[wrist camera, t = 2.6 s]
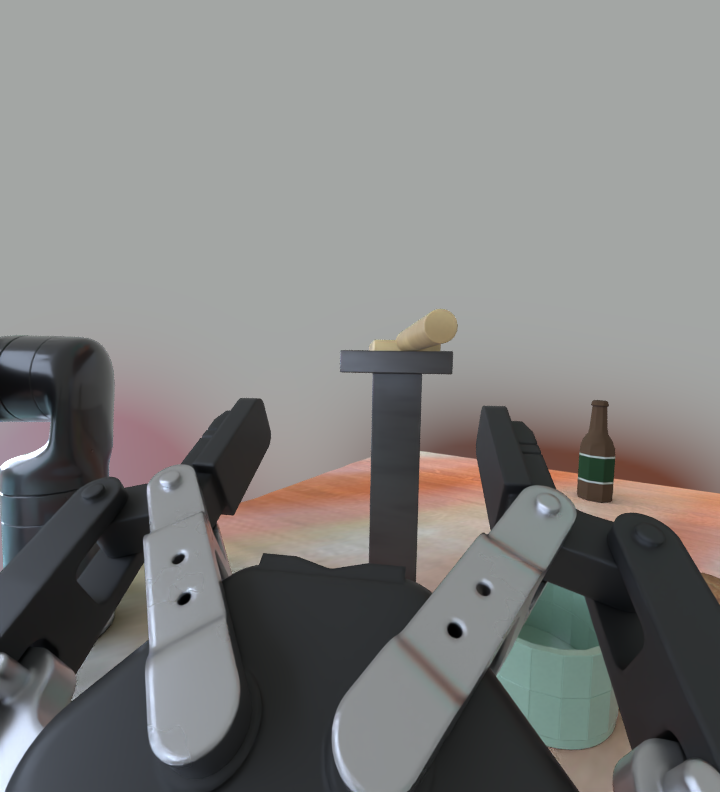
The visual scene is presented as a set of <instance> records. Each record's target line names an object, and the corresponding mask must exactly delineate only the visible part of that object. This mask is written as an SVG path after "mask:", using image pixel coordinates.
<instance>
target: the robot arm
mask: <svg viewBox="0 0 720 792" xmlns="http://www.w3.org/2000/svg"><path fill="white" fill-rule="evenodd" d="M114 385H115V382H114V371H113V366H112V362H111V359H110V357H109V355H108V353H107V351H106V350H105V348H104V347H103V346H102V345H101V344H100V343H98V342H97V341H95V340H92V339H89V338H83V337H64V336H28V335H15V336H4V337H0V422H10V421H12V422H51V424H50V435H49V439H48V442H47V444H46V445H44V446H43V447H42V448H40V449H39V450H37V451H34V452H31V453H28V454H25V455H21V456H18V457H16V458H13V459H10V460H8V461H7V462H5V463H4V464H3V465H2V466H1V467H0V515H1V529H2V547H3V548H2V549H3V567H4V569H3V570H2V571H1V572H0V792H579V791H578V789H577V788H576V786H575V785H574V784H573V782H572V781H571V780H570V778H569V777H568V775H567V774H566V773H565V771H564V770H563V768H562V767H561V766H560V764H559V763H558V761H557V760H556V759H555V757H554V756H553V755H552V753H551V752H550V750H549V749H548V748H547V746H546V745H545V743H544V742H543V741H542V739H541V738H540V736H539V735H538V734H537V732H536V731H535V730H534V728H533V727H532V725H531V724H530V723H529V721H528V720H527V718H526V717H525V716H524V714H523V713H522V712H521V710H520V709H519V707H518V706H517V705H516V703H515V702H514V700H513V699H512V698H511V696H510V695H509V693H508V692H507V691H506V689H505V688H504V687H503V685H502V684H501V682H500V681H499V680H498V678H497V677H496V676H497V674H498V672H499V671H500V669H501V667H502V665H503V664H504V662H505V660H506V658H507V656H508V655H509V653H510V651H511V649H512V647H513V645H514V643H515V641H516V639H517V637H518V635H519V633H520V631H521V629H522V627H523V625H524V624H525V622H526V620H527V618H528V617H529V615H530V613H531V611H532V610H533V608H534V606H535V604H536V602H537V601H538V599H539V597H540V595H541V594H542V592H543V590H544V588H545V587H546V585H547V583H548V582H549V583H552V584H554V585H557V586H560V587H562V588H565V589H567V590H570V591H572V592H575V593H577V594H580V595H583V596H584V597H585V601H586V604H587V607H588V610H589V613H590V617H591V620H592V623H593V626H594V630H595V633H596V636H597V639H598V642H599V646H600V649H601V652H602V655H603V658H604V662H605V665H606V668H607V671H608V675H609V678H610V681H611V684H612V687H613V691H614V694H615V697H616V700H617V704H618V707H619V710H620V713H621V716H622V720H623V723H624V726H625V729H626V732H627V736H628V739H629V742H630V745H631V749H632V751H631V752H629V753H628V754H627V755H625V756H624V757H623V758H622V759H620V760H619V761H618V763H617V764H616V766H615V769H614V772H613V791H614V792H720V604H719V603H718V601H717V599H716V598H715V596H714V594H713V593H712V591H711V589H710V588H709V586H708V584H707V583H706V581H705V580H704V578H703V576H702V575H701V573H700V571H699V570H698V568H697V566H696V565H695V563H694V561H693V560H692V558H691V556H690V555H689V553H688V551H687V550H686V548H685V546H684V545H683V543H682V541H681V540H680V538H679V537H678V536H677V535H676V534H675V532H674V531H672V530H671V529H670V528H669V527H668V526H666V525H665V524H663V523H662V522H660V521H658V520H656V519H654V518H652V517H649V516H647V515H643V514H639V513H624V514H621V515H619V516H618V517H617V518H616V519H615V521H614V522H612V521H608V520H605V519H602V518H599V517H595V516H592V515H589V514H586V513H583V512H581V511H579V510H577V509H576V508H575V506H574V504H573V503H572V501H571V500H570V499H569V498H568V497H567V496H566V495H564V494H563V493H561V492H560V491H558V490H556V488H555V485H554V483H553V480H552V478H551V475H550V473H549V470H548V468H547V466H546V463H545V461H544V458H543V456H542V455H541V451H540V448H539V446H538V445H537V441H536V439H535V436H534V434H533V432H532V431H531V430H530V429H529V428H528V427H527V426H526V425H525V424H524V423H523V422H520V421H511V419H510V416H509V413H508V410H507V408H506V407H505V406H483V407H482V410H481V416H480V422H479V428H478V434H477V441H476V455H477V461H478V467H479V472H480V477H481V482H482V487H483V493H484V498H485V503H486V508H487V514H488V519H489V524H490V529H491V531H490V533H489V534H485V533H482V534H480V535H479V536H478V537H477V538H476V540H475V541H474V542H473V543H472V545H471V546H470V547H469V548H468V550H467V551H466V552H465V553H464V555H463V556H462V557H461V558H460V560H459V561H458V562H457V563H456V565H455V566H454V567H453V568H452V570H451V571H450V572H449V573H448V575H447V576H446V577H445V578H444V580H443V581H442V582H441V583H440V585H439V586H438V587H437V588H436V590H435V591H434V592H433V593H432V592H430V591H429V590H428V589H426V588H425V587H423V586H422V585H420V584H418V583H416V582H414V581H412V580H409V579H406V578H405V574H406V567H404V566H394V565H383V564H372V563H367V564H361V565H354V566H348V567H341V568H335V569H330V568H326V567H323V566H321V565H318V564H316V563H313V562H310V561H308V560H305V559H302V558H300V557H297V556H287V555H277V554H266V553H263V556H262V558H261V561H260V563H259V565H255V566H252V567H248V568H245V569H243V570H240V571H238V572H236V573H234V574H232V571H231V568H230V565H229V561H228V558H227V554H226V551H225V547H224V543H223V540H222V536H221V532H220V529H219V526H218V523H217V520H218V519H219V517H220V515H221V514H222V515H234V514H235V512H236V510H237V508H238V506H239V504H240V502H241V500H242V498H243V496H244V494H245V492H246V490H247V488H248V486H249V484H250V482H251V480H252V478H253V477H254V475H255V472H256V471H257V469H258V467H259V465H260V463H261V461H262V459H263V457H264V455H265V453H266V451H267V449H268V447H269V444H270V439H271V431H270V427H269V423H268V419H267V415H266V411H265V407H264V403H263V401H262V400H261V399H257V398H240V399H239V400H238V401H237V403H236V404H235V405H234V407H233V408H232V409H231V411H225V412H224V413H223V414H221V415H220V416H218V417H217V418H216V419H215V420H214V421H213V422H212V424H211V425H210V426H209V428H208V430H206V432H205V433H204V434H203V436H202V438H200V439H199V441H198V442H197V443H196V445H195V446H194V447H193V449H192V450H191V451H190V452H189V454H188V455H187V456H186V458H185V459H184V460H183V462H182V463H181V464H180V465H174V466H170V467H168V468H165V469H163V470H162V471H160V472H158V473H157V474H156V475H155V476H154V477H153V478H152V479H151V480H150V481H149V483H148V484H143V485H137V486H132V487H127V488H124V487H123V485H122V484H121V482H120V480H119V479H117V478H114V477H109V462H110V456H111V452H112V447H113V415H114V413H113V412H114ZM143 563H144V564H145V581H146V597H147V614H148V631H149V640H148V641H146V642H145V643H144V644H143V645H141V646H140V647H139V648H138V649H136V650H135V651H134V652H133V653H131V654H130V655H129V656H128V657H126V658H125V659H124V660H123V661H122V662H120V663H119V664H118V665H117V666H115V667H114V668H113V669H112V670H110V671H109V672H108V673H107V674H105V675H104V676H103V677H102V678H100V679H99V680H98V681H97V682H95V683H94V684H93V685H92V686H90V687H89V688H88V689H87V690H85V691H84V692H83V693H82V694H80V695H79V696H78V697H77V698H75V699H74V700H73V701H71V699H72V696H73V694H74V691H75V687H76V676H75V675H76V673H77V672H78V670H79V668H80V667H81V665H82V663H83V662H84V660H85V658H86V657H87V655H88V653H89V652H90V650H91V648H92V647H93V645H94V644H95V642H96V640H97V639H98V637H99V636H100V635H101V634H102V633H103V632H105V631H106V629H107V628H108V627H109V626H110V625H111V623H112V621H113V619H114V611H115V609H116V607H117V606H118V604H119V602H120V601H121V599H122V597H123V596H124V594H125V593H126V591H127V589H128V588H129V586H130V584H131V583H132V581H133V579H134V578H135V576H136V574H137V573H138V571H139V569H140V568H141V566H142V565H143Z"/></svg>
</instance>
